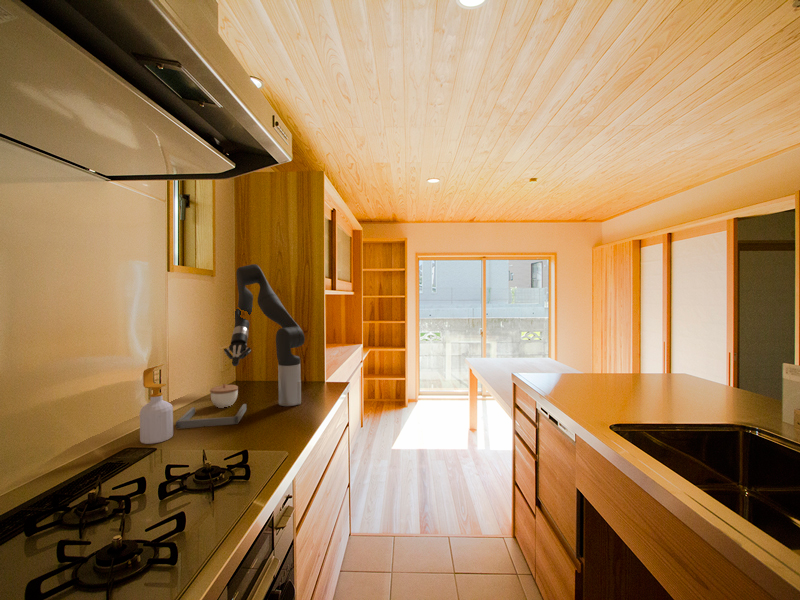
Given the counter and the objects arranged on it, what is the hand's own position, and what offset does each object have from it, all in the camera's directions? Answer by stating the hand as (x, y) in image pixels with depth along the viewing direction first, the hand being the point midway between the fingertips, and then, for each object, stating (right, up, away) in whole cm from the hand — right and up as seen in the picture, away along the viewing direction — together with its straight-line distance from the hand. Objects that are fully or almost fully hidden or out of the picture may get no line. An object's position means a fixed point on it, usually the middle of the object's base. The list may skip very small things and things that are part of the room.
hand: (234, 365), depth 174 cm
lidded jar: (+5, -14, -20) cm, 25 cm away
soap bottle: (-1, -15, -55) cm, 57 cm away
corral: (+8, -14, -35) cm, 39 cm away
